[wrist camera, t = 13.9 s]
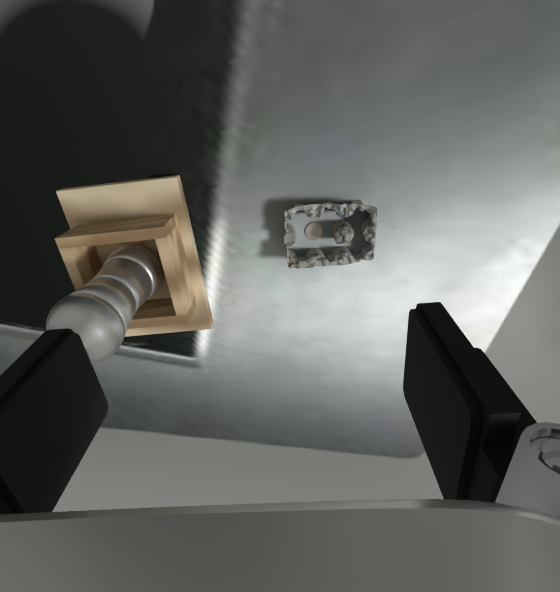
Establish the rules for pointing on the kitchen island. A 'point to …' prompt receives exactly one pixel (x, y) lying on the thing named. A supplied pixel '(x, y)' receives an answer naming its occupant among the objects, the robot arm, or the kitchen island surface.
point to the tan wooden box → (143, 232)
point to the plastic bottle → (109, 300)
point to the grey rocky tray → (340, 232)
